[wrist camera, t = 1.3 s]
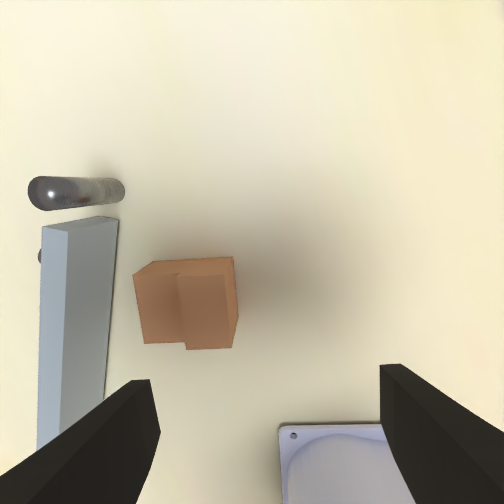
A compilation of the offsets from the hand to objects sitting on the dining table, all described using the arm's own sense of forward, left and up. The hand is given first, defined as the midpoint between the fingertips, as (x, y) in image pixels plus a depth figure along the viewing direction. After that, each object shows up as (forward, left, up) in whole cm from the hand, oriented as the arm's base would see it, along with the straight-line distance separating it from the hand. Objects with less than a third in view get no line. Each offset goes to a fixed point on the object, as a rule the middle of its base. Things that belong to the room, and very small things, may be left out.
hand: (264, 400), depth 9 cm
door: (+11, +1, -9) cm, 15 cm away
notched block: (+4, 0, -10) cm, 11 cm away
